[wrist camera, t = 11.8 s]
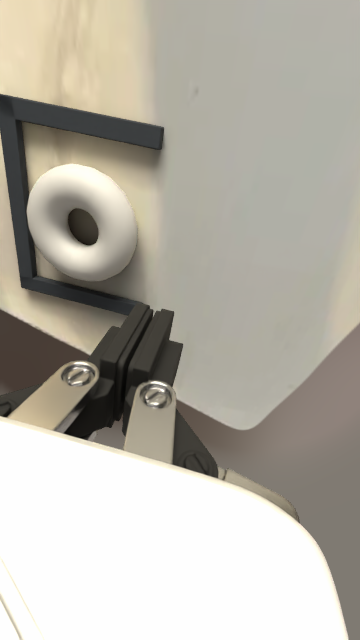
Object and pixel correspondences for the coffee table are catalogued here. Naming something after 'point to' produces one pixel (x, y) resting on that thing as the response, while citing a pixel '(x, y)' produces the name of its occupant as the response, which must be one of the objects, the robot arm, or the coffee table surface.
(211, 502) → the robot arm
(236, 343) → the coffee table surface
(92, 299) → the frame
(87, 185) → the donut
